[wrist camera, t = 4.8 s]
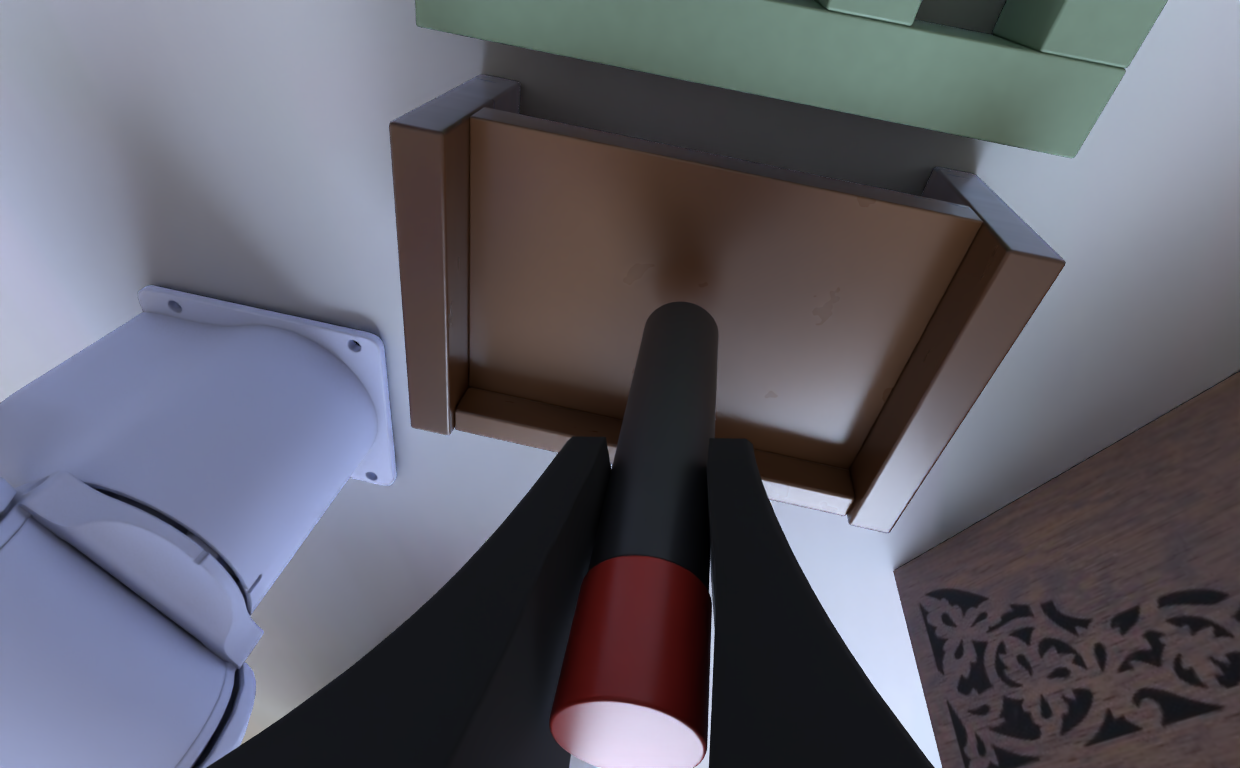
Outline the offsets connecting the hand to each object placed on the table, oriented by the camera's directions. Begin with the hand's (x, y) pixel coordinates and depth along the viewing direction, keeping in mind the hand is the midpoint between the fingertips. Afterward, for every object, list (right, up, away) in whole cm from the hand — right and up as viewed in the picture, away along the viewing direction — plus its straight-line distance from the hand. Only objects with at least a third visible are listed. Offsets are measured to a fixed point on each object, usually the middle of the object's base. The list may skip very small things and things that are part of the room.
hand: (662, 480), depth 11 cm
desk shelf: (+2, +6, +9) cm, 10 cm away
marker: (+1, +3, +4) cm, 5 cm away
